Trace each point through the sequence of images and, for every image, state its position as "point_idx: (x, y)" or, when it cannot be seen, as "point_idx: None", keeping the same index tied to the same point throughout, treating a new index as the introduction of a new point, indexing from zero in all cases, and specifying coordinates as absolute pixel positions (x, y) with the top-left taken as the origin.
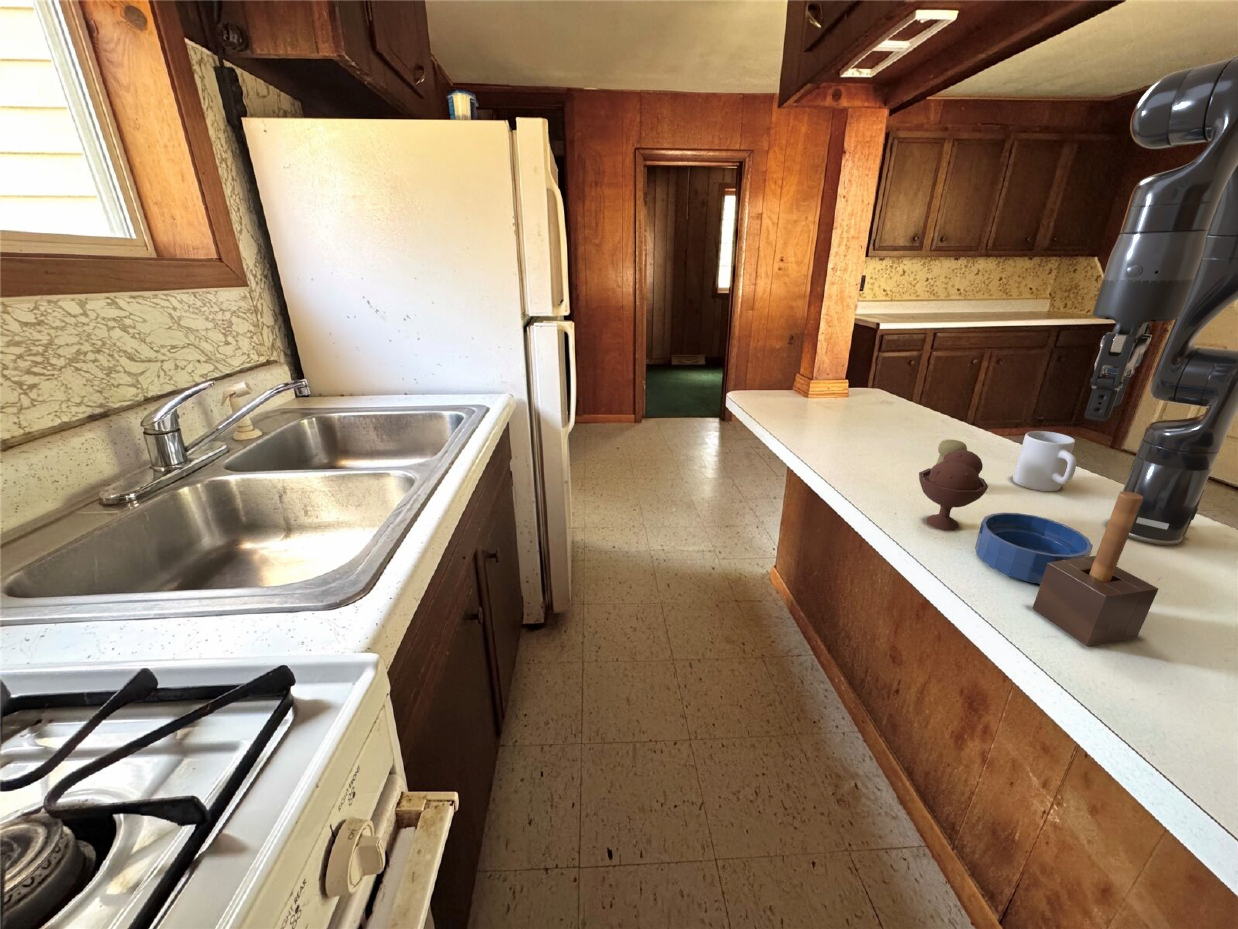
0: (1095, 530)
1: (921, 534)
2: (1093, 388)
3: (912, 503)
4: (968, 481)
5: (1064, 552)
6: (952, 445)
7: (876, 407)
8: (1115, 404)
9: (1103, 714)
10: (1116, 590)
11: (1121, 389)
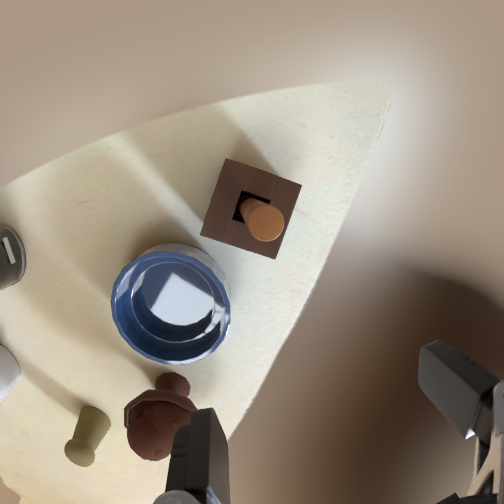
0: (36, 285)
1: (218, 385)
2: (474, 433)
3: None
4: (176, 415)
5: (139, 277)
6: (84, 458)
7: (29, 496)
8: (214, 415)
9: (368, 145)
10: (275, 183)
11: (211, 455)
